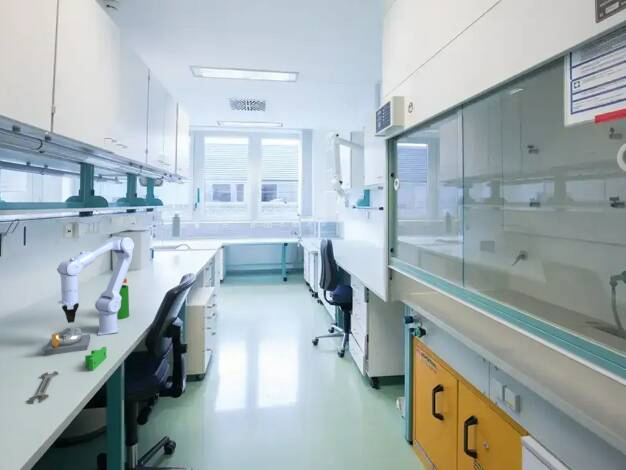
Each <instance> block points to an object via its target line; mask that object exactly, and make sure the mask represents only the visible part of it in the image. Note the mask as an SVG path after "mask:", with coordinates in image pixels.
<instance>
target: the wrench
mask: <svg viewBox="0 0 626 470" xmlns="http://www.w3.org/2000/svg"><path fill="white" fill-rule="evenodd" d="M57 376H59V372H58V371H55V370H54V371H53V373H49V372H45V373H42V374H41V375H40V378H41V379H43V380H42V383H41V384H40V386H39V388H38V391H37V392H36V394H35V395H33V396H30V397H29V398H28V402H29V404H31V405H32V404H34V403H35V401H37V400H39V399H40V402H41V403H43V402H45V401H47V399H49V397H50V396H49V394H47V390H48V388H49V386H50V384H51V382H52V380H53V378H56V377H57Z"/></svg>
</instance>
